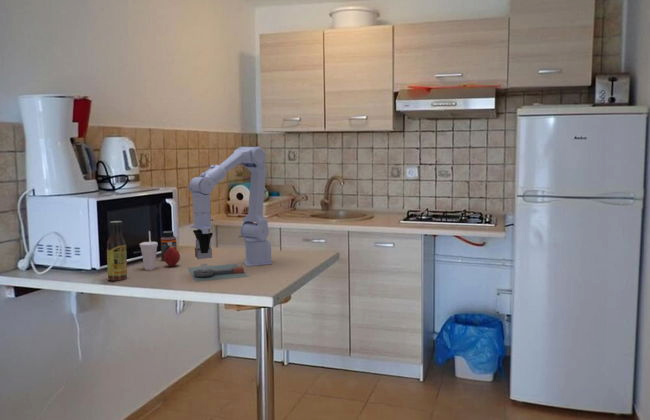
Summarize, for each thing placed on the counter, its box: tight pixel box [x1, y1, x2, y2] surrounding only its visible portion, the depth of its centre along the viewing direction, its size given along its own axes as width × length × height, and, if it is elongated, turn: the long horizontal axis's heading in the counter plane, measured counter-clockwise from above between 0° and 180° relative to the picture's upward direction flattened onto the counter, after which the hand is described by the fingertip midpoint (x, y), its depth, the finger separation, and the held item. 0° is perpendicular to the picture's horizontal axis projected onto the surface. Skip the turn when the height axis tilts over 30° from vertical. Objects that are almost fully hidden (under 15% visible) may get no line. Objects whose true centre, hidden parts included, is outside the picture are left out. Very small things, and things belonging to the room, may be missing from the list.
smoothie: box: [139, 230, 159, 271], centre depth 207 cm, size 6×6×14 cm
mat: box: [187, 263, 249, 282], centre depth 201 cm, size 18×22×1 cm
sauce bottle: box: [106, 220, 128, 282], centre depth 192 cm, size 7×6×20 cm
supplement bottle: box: [160, 230, 178, 262], centre depth 223 cm, size 6×6×11 cm
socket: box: [194, 239, 213, 260], centre depth 195 cm, size 5×5×6 cm
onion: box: [163, 246, 181, 267], centre depth 211 cm, size 6×6×8 cm
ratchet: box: [194, 263, 245, 278], centre depth 197 cm, size 17×7×4 cm, turn 110°
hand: (203, 251), depth 195 cm, fingers closed on socket, 5 cm apart
